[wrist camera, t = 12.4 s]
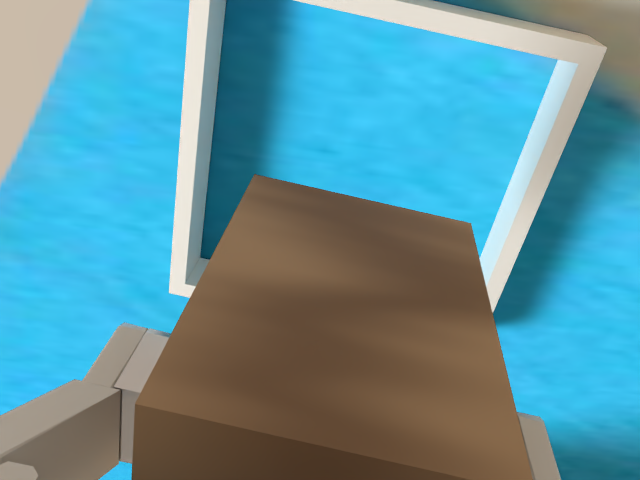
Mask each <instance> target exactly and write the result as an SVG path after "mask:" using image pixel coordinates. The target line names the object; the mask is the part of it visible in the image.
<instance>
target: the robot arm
mask: <svg viewBox="0 0 640 480" xmlns="http://www.w3.org/2000/svg"><path fill="white" fill-rule="evenodd" d="M170 335H171V334H170V333H166V332H162V331H158V330H154V329H147V328H144V327H140V326H136V325H132V324H128V323H123V324H121V325H120V326H119V327H118V328H117V329H116V331H115V332H114V334H113V335H112V337H111V338H110V340H109V341H108V343H107V344H106V346H105V347H104V349H103V350H102V352H101V353H100V355H99V356H98V358H97V359H96V361H95V362H94V364H93V365H92V367H91V368H90V370H89V371H88V373H87V374H86V376H85V377H84V379H83V380H82V381H80V380H75V379H74V380H72V381H70V382H68V383H66V384H64V385H62V386H60V387H58V388H56V389H54V390H52V391H50V392H48V393H46V394H43V395H41V396H39V397H37V398H35V399H33V400H31V401H29V402H27V403H25V404H23V405H21V406H19V407H17V408H15V409H13V410H11V411H9V412H7V413H5V414H3V415H1V416H0V480H98V479H100V478H101V477H102V476H103V475H105V474H106V473H107V472H109V471H110V470H111V469H112V468H114V467H115V466H116V465H118V464H119V461H122V462H127V463H132V459H133V435H134V412H135V403H136V401H137V399H138V397H139V395H140V393H141V391H142V389H143V387H144V385H145V383H146V381H147V380H148V378H149V376H150V374H151V372H152V370H153V368H154V366H155V364H156V362H157V360H158V358H159V356H160V355H161V353H162V351H163V349H164V347H165V345H166V343H167V341H168V339H169V337H170ZM517 416H518V420H519V424H520V428H521V432H522V436H523V440H524V445H525V449H526V453H527V457H528V461H529V465H530V469H531V473H532V478H533V480H561V477H560V474H559V470H558V467H557V464H556V460H555V457H554V454H553V450H552V447H551V444H550V440H549V437H548V434H547V430H546V427H545V424H544V421H543V420H542V419H541V418H540V417H538V416H534V415H529V414H524V413H519V412H517Z"/></svg>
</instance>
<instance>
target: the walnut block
mask: <svg viewBox="0 0 640 480" xmlns="http://www.w3.org/2000/svg"><path fill="white" fill-rule="evenodd" d="M132 480H533V478H532V473H531V469H530V465H529V461H528V457H527V453H526V449H525V445H524V440H523V436H522V432H521V428H520V424H519V420H518V416H517V412H516V407H515V403H514V399H513V395H512V391H511V387H510V383H509V379H508V375H507V370H506V366H505V362H504V358H503V354H502V350H501V346H500V342H499V337H498V333H497V329H496V325H495V321H494V317H493V313H492V309H491V305H490V300H489V296H488V292H487V288H486V284H485V280H484V276H483V272H482V267H481V263H480V259H479V255H478V251H477V247H476V243H475V239H474V234H473V230H472V226H471V223H467V222H463V221H459V220H454V219H450V218H445V217H441V216H436V215H432V214H428V213H423V212H419V211H414V210H410V209H406V208H401V207H397V206H392V205H388V204H384V203H379V202H375V201H370V200H366V199H362V198H357V197H353V196H348V195H344V194H340V193H335V192H331V191H326V190H322V189H318V188H313V187H309V186H304V185H300V184H295V183H291V182H287V181H282V180H278V179H273V178H269V177H265V176H260V175H256V174H254V176H253V178H252V180H251V182H250V184H249V186H248V187H247V189H246V191H245V193H244V195H243V197H242V199H241V201H240V203H239V205H238V207H237V209H236V210H235V212H234V214H233V216H232V218H231V220H230V222H229V224H228V226H227V228H226V230H225V232H224V234H223V235H222V237H221V239H220V241H219V243H218V245H217V247H216V249H215V251H214V253H213V255H212V257H211V259H210V260H209V262H208V264H207V266H206V268H205V270H204V272H203V274H202V276H201V278H200V280H199V282H198V283H197V285H196V287H195V289H194V291H193V293H192V295H191V297H190V299H189V301H188V303H187V305H186V307H185V308H184V310H183V312H182V314H181V316H180V318H179V320H178V322H177V324H176V326H175V328H174V330H173V332H172V333H171V335H170V337H169V339H168V341H167V343H166V345H165V347H164V349H163V351H162V353H161V355H160V356H159V358H158V360H157V362H156V364H155V366H154V368H153V370H152V372H151V374H150V376H149V378H148V380H147V381H146V383H145V385H144V387H143V389H142V391H141V393H140V395H139V397H138V399H137V401H136V403H135V412H134V435H133V459H132Z"/></svg>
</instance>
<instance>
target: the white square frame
mask: <svg viewBox="0 0 640 480" xmlns="http://www.w3.org/2000/svg"><path fill="white" fill-rule="evenodd" d="M295 1H299V2H304V3H308V4H313V5H317V6H322V7H326V8H331V9H335V10H339V11H344V12H348V13H353V14H357V15H362V16H366V17H371V18H375V19H380V20H384V21H389V22H393V23H397V24H402V25H406V26H411V27H415V28H420V29H424V30H429V31H433V32H438V33H442V34H447V35H451V36H455V37H460V38H464V39H469V40H473V41H478V42H482V43H487V44H491V45H496V46H500V47H505V48H509V49H513V50H518V51H522V52H527V53H531V54H536V55H540V56H545V57H549V58H554V59H558V61H557V64H556V66H555V69H554V71H553V74H552V76H551V79H550V81H549V84H548V86H547V89H546V91H545V94H544V97H543V99H542V102H541V104H540V107H539V109H538V112H537V114H536V117H535V119H534V122H533V124H532V127H531V130H530V132H529V135H528V137H527V140H526V142H525V145H524V147H523V150H522V152H521V155H520V157H519V160H518V163H517V165H516V168H515V170H514V173H513V175H512V178H511V180H510V183H509V185H508V188H507V190H506V193H505V196H504V198H503V201H502V203H501V206H500V208H499V211H498V213H497V216H496V218H495V221H494V224H493V226H492V229H491V231H490V234H489V236H488V239H487V241H486V244H485V246H484V249H483V251H482V254H481V257H480V263H481V267H482V272H483V276H484V280H485V284H486V288H487V292H488V296H489V300H490V305H491V309H492V313H493V312H494V309H495V307H496V305H497V302H498V300H499V298H500V295H501V293H502V291H503V288H504V286H505V284H506V282H507V279H508V277H509V275H510V272H511V270H512V268H513V265H514V263H515V261H516V258H517V256H518V254H519V251H520V249H521V247H522V245H523V242H524V240H525V238H526V235H527V233H528V231H529V228H530V226H531V224H532V221H533V219H534V217H535V214H536V212H537V210H538V207H539V205H540V203H541V201H542V198H543V196H544V194H545V191H546V189H547V187H548V184H549V182H550V180H551V177H552V175H553V173H554V170H555V168H556V166H557V164H558V161H559V159H560V157H561V154H562V152H563V150H564V147H565V145H566V143H567V140H568V138H569V136H570V133H571V131H572V129H573V127H574V124H575V122H576V120H577V117H578V115H579V113H580V110H581V108H582V106H583V103H584V101H585V99H586V96H587V94H588V92H589V90H590V87H591V85H592V83H593V80H594V78H595V76H596V73H597V71H598V69H599V66H600V64H601V62H602V59H603V57H604V55H605V52H606V50H607V47H606V46H604V45H602V44H601V43H599V42H598V41H596V40H595V39H593V38H592V37H590V36H589V35H586V34H581V33H577V32H572V31H568V30H563V29H559V28H554V27H550V26H545V25H541V24H536V23H532V22H527V21H523V20H519V19H514V18H510V17H505V16H501V15H496V14H492V13H487V12H483V11H478V10H474V9H469V8H465V7H460V6H456V5H451V4H447V3H443V2H438V1H434V0H295ZM225 7H226V0H190V5H189V19H188V33H187V47H186V61H185V75H184V89H183V103H182V117H181V131H180V145H179V159H178V173H177V187H176V201H175V215H174V229H173V243H172V257H171V271H170V285H169V293H172V294H176V295H180V296H185V297H189V298H190V297H191V295H192V293H193V291H194V289H195V287H196V285H197V283H198V282H199V280H200V278H201V276H202V274H203V272H204V270H205V268H206V266H207V264H208V262H209V259H204V258H200V254H201V244H202V234H203V224H204V215H205V205H206V195H207V185H208V175H209V165H210V155H211V146H212V136H213V126H214V116H215V106H216V96H217V86H218V76H219V67H220V57H221V47H222V37H223V27H224V17H225Z"/></svg>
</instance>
